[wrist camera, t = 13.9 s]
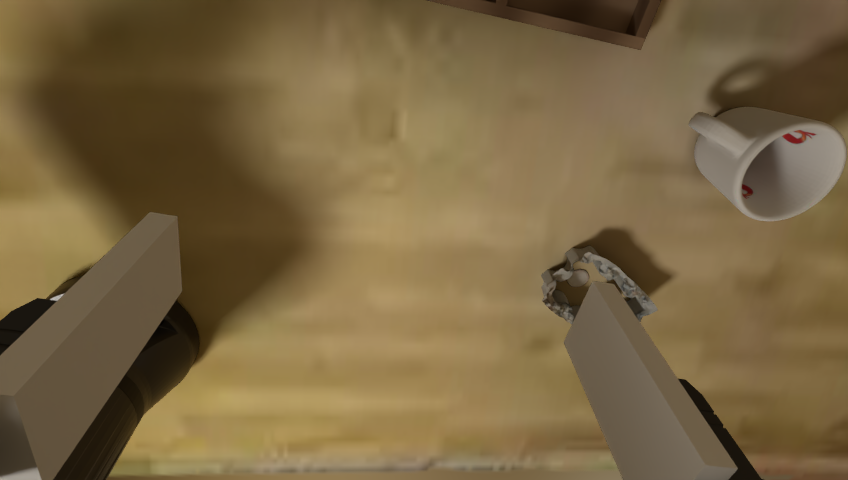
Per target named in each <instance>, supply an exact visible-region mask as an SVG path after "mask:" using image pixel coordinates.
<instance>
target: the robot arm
mask: <svg viewBox="0 0 848 480" xmlns="http://www.w3.org/2000/svg"><path fill="white" fill-rule="evenodd" d="M181 292H182V279H181V263H180V247H179V231H178V216H173V215H166V214H160V213H154V212H149V213H148V214H147V215H146V216H145V217H144V218H143V219H142V220H141V221H140V222H139V223H138V224H137V225H136V226H135V227H134V228H133V229H132V230H131V231H129V232H128V233H127V234H126V235H125V236H124V237H123V238H122V239H121V240H120V241H119V242H118V243H117V244H116V245H115V246H114V247H113V248H112V249H111V250H110V251H109V252H108V253H107V254H106V255H104V256H103V257H102V258H101V259H100V260H99V261H98V262H97V263H96V264H95V265H94V266H93V267H92V268H91V269H90V270H89V271H88V272H87V273H86V274H85V275H84V276H80V277H76V278H73V279H71V280H69V281H67V282H65V283H63V284H62V285H60V286H59V287H58V288H57V289H56V290H55V291H54V292H53V293H52V294H50V295H49V296H48V297H47V298H46V299H39V298H37V299H35V300H33V301H31V302H29V303H27V304H25V305H23V306H21V307H19V308H17V309H15V310H13V311H11V312H10V313H9V314H8V315H7V316H6V317H4V318H3V319H2V320H1V321H0V480H106V479H107V478H108V476H109V474H110V472H111V470H112V469H113V467H114V465H115V463H116V462H117V460H118V458H119V457H120V455H121V453H122V451H123V450H124V448H125V446H126V444H127V443H128V441H129V439H130V437H131V436H132V434H133V432H134V430H135V428H136V427H137V425H138V423H139V422H140V420H141V418H142V417H143V415H144V414H145V413H146V412H147V411H148V410H149V409H150V408H152V407H153V406H154V405H155V404H156V403H157V402H159V401H160V400H161V399H162V398H163V397H164V396H165V395H166V394H167V393H169V392H170V391H171V390H172V389H173V388H174V387H175V386H177V385H178V384H179V383H180V382H181V381H182V380H183V379H184V377H185V376H186V375H187V373H188V372H189V370H190V368H191V366H192V364H193V362H194V360H195V358H196V356H197V354H198V350H199V336H198V332H197V329H196V327H195V324H194V322H193V321H192V319H191V317H190V316H189V314H188V313H187V312H186V311H185V309H184V308H183V307H182V306H181V305H180V304H179V303H178V302H177V301H176V299H177V298H178V296H179V295H180V294H181ZM564 344H565V347H566V349H567V351H568V354H569V356H570V358H571V360H572V363H573V365H574V367H575V370H576V372H577V374H578V377H579V379H580V381H581V384H582V386H583V388H584V391H585V393H586V395H587V397H588V400H589V402H590V404H591V407H592V409H593V411H594V414H595V416H596V418H597V421H598V423H599V425H600V428H601V430H602V432H603V435H604V437H605V439H606V441H607V444H608V446H609V448H610V451H611V453H612V455H613V458H614V460H615V462H616V465H617V467H618V469H619V472H620V474H621V475H622V478H623V480H763V479H761V478H760V476H759V475H758V474H757V472H756V471H755V469H754V468H753V466H752V465H751V464H750V462H749V461H748V459H747V458H746V456H745V455H744V454H743V452H742V451H741V449H740V448H739V447H738V445H737V444H736V442H735V441H734V439H733V438H732V437H731V435H730V434H729V432H728V431H727V429H726V428H723V424H722V422H721V421H720V420H719V418H718V417H717V415H714V413H713V412H714V411H713V410H712V408H711V407H710V405H709V404H708V403H707V401H706V400H705V398H704V397H703V395H702V394H701V393H699V392H698V391H697V390H696V389H695V388H694V387H693V386H692V385H691V384H690V383H689V382H687V381H686V380H684V379H678V378H677V377H676V376H675V374H674V373H673V371H672V370H671V368H670V367H669V365H668V364H667V362H666V361H665V359H664V358H663V356H662V355H661V353H660V352H659V350H658V349H657V347H656V346H655V344H654V343H653V341H652V340H651V338H650V337H649V335H648V334H647V332H646V331H645V329H644V328H643V326H642V325H641V323H640V322H639V320H638V319H637V318H636V316H635V315H634V313H633V312H632V310H631V309H630V307H629V306H628V304H627V303H626V301H625V300H624V298H623V297H622V295H621V294H620V292H619V291H618V289H617V288H616V286H615V285H614V284H610V283H604V282H598V281H592V283H591V286H590V288H589V290H588V292H587V294H586V296H585V298H584V300H583V302H582V305H581V307H580V309H579V311H578V313H577V315H576V317H575V319H574V321H573V324H572V326H571V328H570V330H569V332H568V334H567V336H566V338H565V341H564Z"/></svg>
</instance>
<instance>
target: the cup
mask: <svg viewBox="0 0 848 480" xmlns="http://www.w3.org/2000/svg"><path fill="white" fill-rule="evenodd" d="M689 126H690V127H691V128H692V129H694V130H696V131H697V132H699V133H700V135H699V137H698V139H697V142H696V145H695V152H694V155H695V161H696V164H697V167H698V168H699V170H700V172H701V173H702V174H703V175H704V176H705V177H706V178H707V179H708V180H709V181H710V182H711V183H712V184H713V185H714V186H715V187H716V188H717V189H718V190H719V191H720V192H721V193H722V194H723V195H724V196H725V197H726V198H727V199H728V200H730V201H731V202H732V203H733V204H734V205H735V206H736V207H737V208H738V209H739V210H740V211H741V212H742V213H744V214H745V215H747V216H748V217H751V218H753V219H756V220H760V221H778V220H784V219H787V218H791V217H793V216H796V215H798V214H800V213H802V212H804V211H806V210H808V209H809V208H811V207H812V206H814V205H815V204H817V203H818V202H819V201H820V200H821V199H823V198H824V197H825V196H826V195H827V194H828V193H829V192H830V190H831V189H832V188H833V187H834V185H835V184H836V182H837V181H838V179H839V178H840V176H841V174H842V172H843V169H844V166H845V162H846V155H847V149H846V144H845V140H844V138H843V137H842V135H841V133H840V132H839V131H838V130H837V129H835V128H834V127H833V126H831V125H829V124H827V123H824V122H821V121H817V120H813V119H808V118H804V117H799V116H795V115H790V114H786V113H781V112H777V111H772V110H767V109H763V108H757V107H739V108H734V109H731V110H728V111H726V112H724V113H722V114H720V115H718V116H717V117H713V116H711V115H709V114H706V113H703V112H698V113H697V114H695V115H694V116H693V118H692V119H691V120H690V122H689Z"/></svg>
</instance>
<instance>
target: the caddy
mask: <svg viewBox="0 0 848 480" xmlns="http://www.w3.org/2000/svg"><path fill="white" fill-rule="evenodd" d="M427 1H432V2H436V3H440V4H445V5H449V6H453V7H457V8H462V9H466V10H470V11H475V12H479V13H483V14H488V15H492V16H496V17H501V18H505V19H509V20H513V21H518V22H522V23H526V24H531V25H535V26H539V27H544V28H548V29H552V30H556V31H561V32H565V33H569V34H574V35H578V36H582V37H587V38H591V39H595V40H600V41H604V42H608V43H612V44H617V45H621V46H625V47H630V48H634V49H638V50H641V48H642V46H643V43H644V41H645V39H646V36H647V34H648V31H649V29H650V26H651V24H652V22H653V19H654V17H655V14H656V12H657V9H658V7H659V5H660V2H661V0H427Z"/></svg>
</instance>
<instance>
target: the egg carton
mask: <svg viewBox="0 0 848 480" xmlns="http://www.w3.org/2000/svg"><path fill="white" fill-rule="evenodd" d="M565 254H566V256H567V259H568V261H567V263H566V265H565V266H564V267H563V268H562V269H560V270H557V271H552V270H549V269H548V270H546V271H545V272H544V273H543V274H542V275H541V276H542V278H543V281H544V283H543V286H542V290H543V294H544V299H543V300H542V301H543V302H544V303H545V305H546V306H547V307H548V308H549V309H550V310H551V311H553V312H554V313H555V314H557V315H558V316H560V317H563V318H564V319H565V320H566V321H567V322H570V323H571V324H573V321H574V319H575V317H576V315H577V313H578V311H579V309H580V307H581V306H579V305H575V306H572V307H571V306H570V304H569V302H568V300H567V298H566V296H565V294H564V293H563V292H562V291H559V290H555V288H556V281H559V282H562V281H564V280H567V282H568V284H569V285H571V286H573V287H580V286H583V285H584V284H586V282H587V281H588V279H589V275H588V273H587V272H586V271H585V270H582V269H578V270H574V268H573V263H574V262H576V261H578V260H579V261H580V262H584V263H590V262H593V263H594V265H595V266H596V268H597V270H598V271H599V273H600V274H601V275H602V276H604V277H605V278H606V279H607V280H612V279H614V280H615V281H616V283H617V284H618V286H619V287H620V289H621V290H622V292H623V294H624V295H625V296H627V297H629V298H632V299H631V300H629V301H626V303H627V304H628V306H629V307H630V309H631V310H632V312H633V313H634V315H635V316H636V318H637V319H638V320H639V322H641V319H642V317H643V316H646V315H649V314H651V313H653V312H655V311H657V307H656V306H655V305H654V303H653V302H652V301H651V299H650V298H649V297H648V296H647V295H646V293H645V292H644V291H643V290H641V289H640V287H639V286H638V285H637V284H636V283H635V282H634V281H633V280H631V279H630V278H629V277H628V276H627V275H626V274H625V273H624V272H623V271H622V270H621V269H620V268H619V267H617V266H616V265H615V264H613V263H612V262H610V261H609V260H607V259H605V258H603V257H600V256H599V255H598V253H597V252H596V250H595V249H594V248H593V247H591V246H590V245H589V246H587V247H585V248H582V249H576V248H571V249H570V250H569V251H567V252H566V253H565Z"/></svg>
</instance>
